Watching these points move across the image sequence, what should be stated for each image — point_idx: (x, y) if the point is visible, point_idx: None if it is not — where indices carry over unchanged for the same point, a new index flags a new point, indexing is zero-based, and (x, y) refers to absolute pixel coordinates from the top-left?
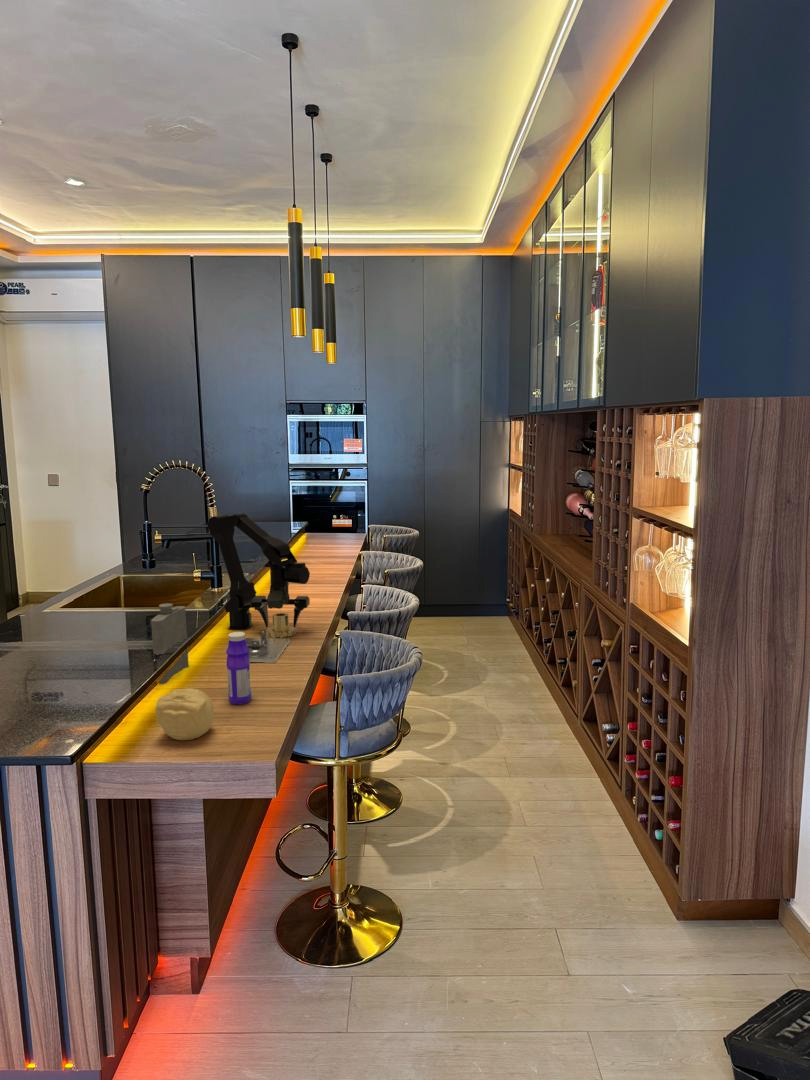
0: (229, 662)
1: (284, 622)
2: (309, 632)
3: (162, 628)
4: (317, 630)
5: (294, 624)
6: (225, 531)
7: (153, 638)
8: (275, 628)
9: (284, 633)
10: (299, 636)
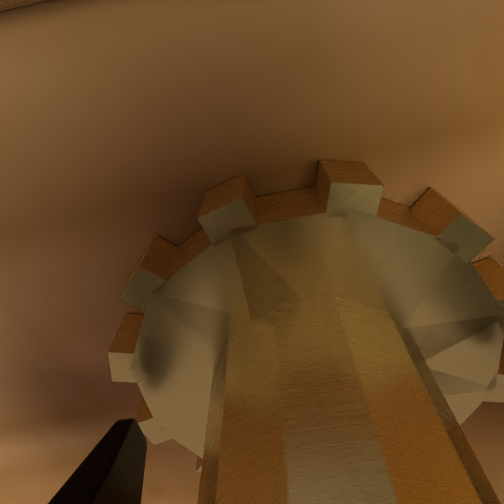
0: None
1: (226, 447)
2: (44, 419)
3: None
4: (16, 469)
5: (103, 456)
6: None
7: None
8: (376, 331)
9: (195, 251)
10: (51, 299)
